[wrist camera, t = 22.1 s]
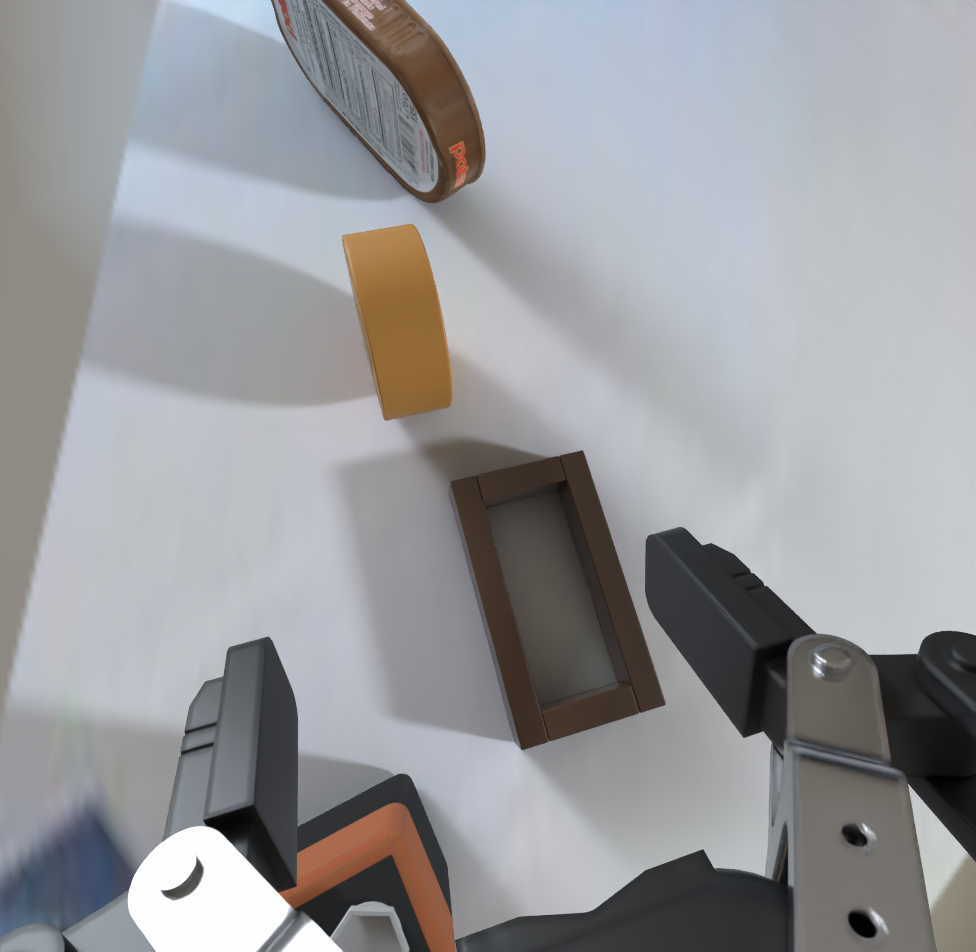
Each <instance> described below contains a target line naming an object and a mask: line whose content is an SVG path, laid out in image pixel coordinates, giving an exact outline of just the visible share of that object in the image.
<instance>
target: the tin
mask: <svg viewBox="0 0 976 952" xmlns="http://www.w3.org/2000/svg"><path fill="white" fill-rule="evenodd" d="M271 2H272V5H273V8H274V11H275V15H276V19H277V23H278V26H279V29H280V31H281V33H282V35H283V38H284V40H285V42H286V44H287V45H288V47H289V49H290V51H291V53H292V55H293V57H294V58H295V60H296V62H297V63H298V65H299V67H300V68H301V70H302V71H303V73H304V74H305V76H306V77H307V79H308V80H309V82H310V83H311V85H312V86H313V87H314V89H315V90H316V91H317V92H318V94H319V95H320V96H321V97H322V98H323V100H324V101H325V102H326V103H327V104H328V105H329V106H330V107H331V108H332V110H333V111H334V112H335V113H336V114H337V115H338V116H339V117H340V118H341V119H342V120H343V122H344V123H345V124H346V125H347V126H348V127H349V128H350V129H351V130H352V132H353V133H354V134H355V135H356V136H357V137H358V138H359V139H360V140H361V141H362V142H363V144H364V145H365V146H366V147H367V148H368V149H369V150H370V151H371V152H372V153H373V154H374V155H375V157H376V158H377V159H378V160H379V161H380V162H381V163H382V164H383V165H384V166H385V167H386V168H387V169H388V170H389V172H390V173H391V174H392V175H393V176H394V177H395V178H396V179H397V180H398V181H399V182H400V183H401V184H402V185H403V186H404V187H405V188H406V189H407V190H408V191H409V192H411V193H412V194H413V195H415V196H416V197H418V198H419V199H421V200H423V201H425V202H430V203H436V202H439V201H442V200H444V199H446V198H447V197H449V196H451V195H452V194H454V193H455V192H457V191H458V190H459V189H461V188H462V187H464V186H465V185H467V184H470V183H473V182H475V181H476V180H477V179H478V178H479V177H480V175H481V174H482V172H483V168H484V164H485V154H486V153H485V139H484V133H483V129H482V123H481V120H480V117H479V113H478V109H477V107H476V104H475V100H474V98H473V95H472V93H471V91H470V88H469V86H468V84H467V82H466V80H465V78H464V76H463V74H462V72H461V70H460V68H459V66H458V64H457V63H456V61H455V59H454V58H453V56H452V54H451V53H450V51H449V49H448V48H447V47H446V45H445V44H444V42H443V41H442V40H441V38H440V37H439V36H438V34H437V33H436V32H435V31H434V30H433V29H432V28H431V26H430V25H429V24H428V23H427V22H426V21H425V20H424V19H423V18H422V17H421V16H420V15H419V14H418V13H417V12H416V11H415V10H414V9H413V8H412V7H411V6H410V5H409V4H408V3H407V2H406V1H405V0H271Z"/></svg>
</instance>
